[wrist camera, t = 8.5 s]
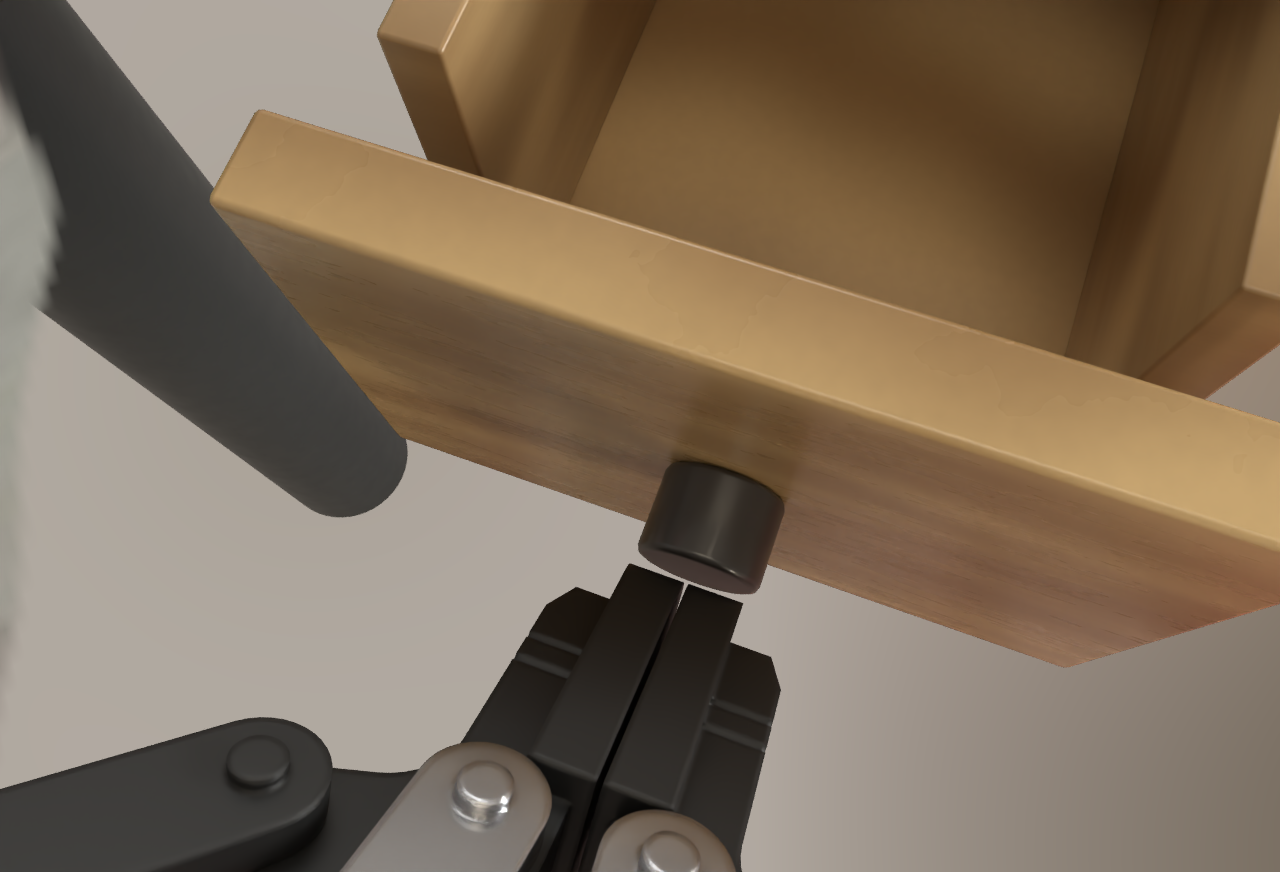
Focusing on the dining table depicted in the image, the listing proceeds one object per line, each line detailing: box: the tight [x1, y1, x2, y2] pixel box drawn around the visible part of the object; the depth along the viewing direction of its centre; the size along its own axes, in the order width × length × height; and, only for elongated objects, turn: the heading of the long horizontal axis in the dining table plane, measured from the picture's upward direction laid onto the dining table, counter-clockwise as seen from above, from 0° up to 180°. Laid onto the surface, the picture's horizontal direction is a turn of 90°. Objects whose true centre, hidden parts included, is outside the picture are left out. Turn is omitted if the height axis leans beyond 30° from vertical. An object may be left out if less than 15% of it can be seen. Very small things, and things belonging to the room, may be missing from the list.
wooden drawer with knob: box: [210, 0, 1280, 667], centre depth 15 cm, size 15×11×8 cm
